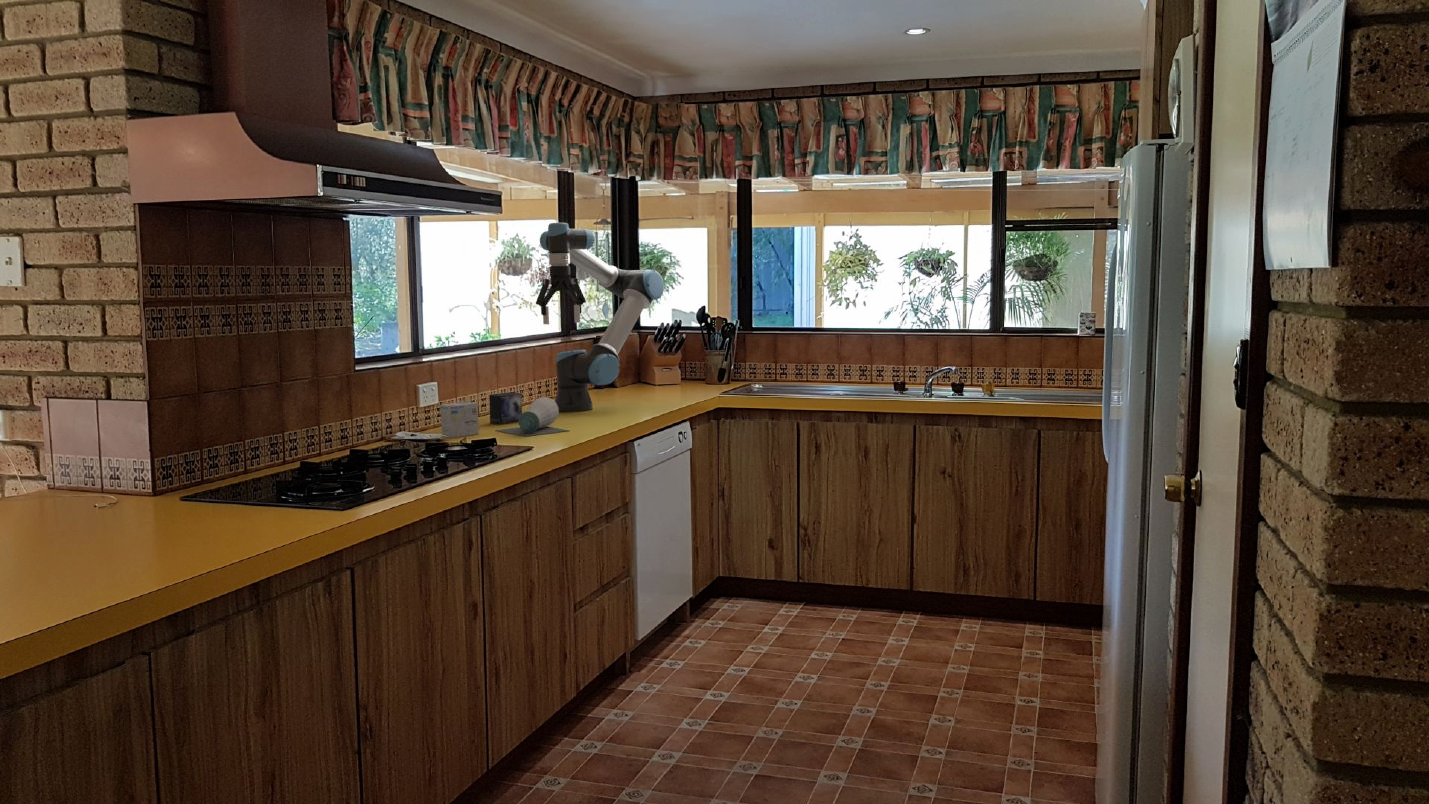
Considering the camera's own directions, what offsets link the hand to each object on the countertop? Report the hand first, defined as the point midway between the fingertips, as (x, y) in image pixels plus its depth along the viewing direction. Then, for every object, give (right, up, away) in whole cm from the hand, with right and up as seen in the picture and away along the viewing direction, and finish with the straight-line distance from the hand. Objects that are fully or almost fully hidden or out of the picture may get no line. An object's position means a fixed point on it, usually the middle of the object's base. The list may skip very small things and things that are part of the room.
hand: (562, 323), depth 396 cm
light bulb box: (-28, -40, -39) cm, 63 cm away
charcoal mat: (-5, -39, -32) cm, 51 cm away
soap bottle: (-2, -32, -21) cm, 38 cm away
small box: (-19, -37, -8) cm, 42 cm away
